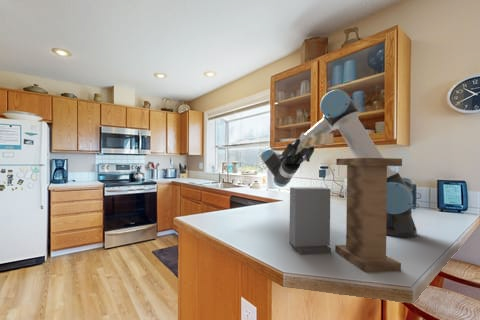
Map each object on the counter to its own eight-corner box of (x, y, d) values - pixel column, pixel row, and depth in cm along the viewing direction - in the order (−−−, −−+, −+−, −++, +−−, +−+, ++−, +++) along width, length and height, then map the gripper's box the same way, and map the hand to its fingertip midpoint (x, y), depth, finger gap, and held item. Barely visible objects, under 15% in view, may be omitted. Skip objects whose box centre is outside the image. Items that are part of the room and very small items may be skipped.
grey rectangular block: (286, 243, 83) (287, 186, 83) (318, 242, 85) (319, 186, 85) (297, 254, 73) (298, 190, 73) (333, 252, 75) (334, 189, 75)
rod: (297, 148, 94) (297, 140, 95) (304, 148, 95) (304, 140, 95) (324, 143, 73) (324, 133, 73) (333, 143, 73) (333, 133, 73)
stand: (335, 251, 76) (336, 158, 77) (363, 250, 78) (364, 159, 78) (367, 272, 61) (368, 157, 62) (401, 270, 63) (402, 158, 63)
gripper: (307, 174, 107) (331, 144, 87) (273, 173, 104) (289, 143, 85) (304, 159, 110) (326, 128, 91) (271, 159, 108) (286, 126, 88)
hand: (308, 135), depth 88 cm, fingers closed on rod, 3 cm apart
